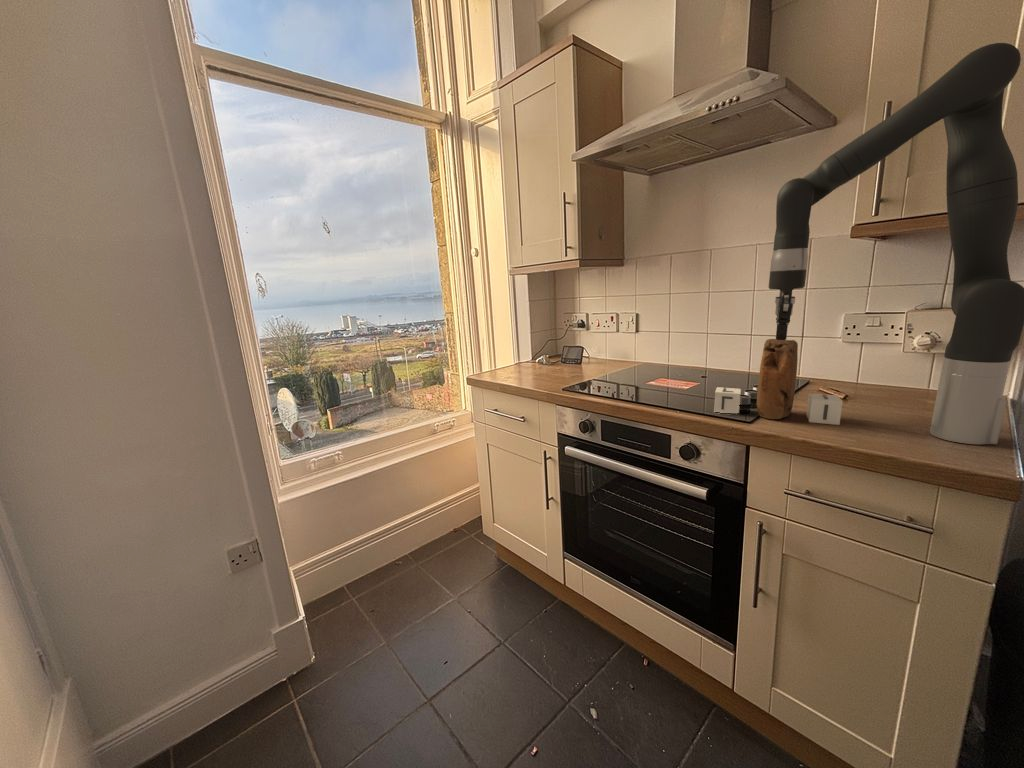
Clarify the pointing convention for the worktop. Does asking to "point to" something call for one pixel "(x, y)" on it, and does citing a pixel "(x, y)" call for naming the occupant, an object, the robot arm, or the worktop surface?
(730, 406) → the cube seven
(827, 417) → the cube one
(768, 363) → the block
